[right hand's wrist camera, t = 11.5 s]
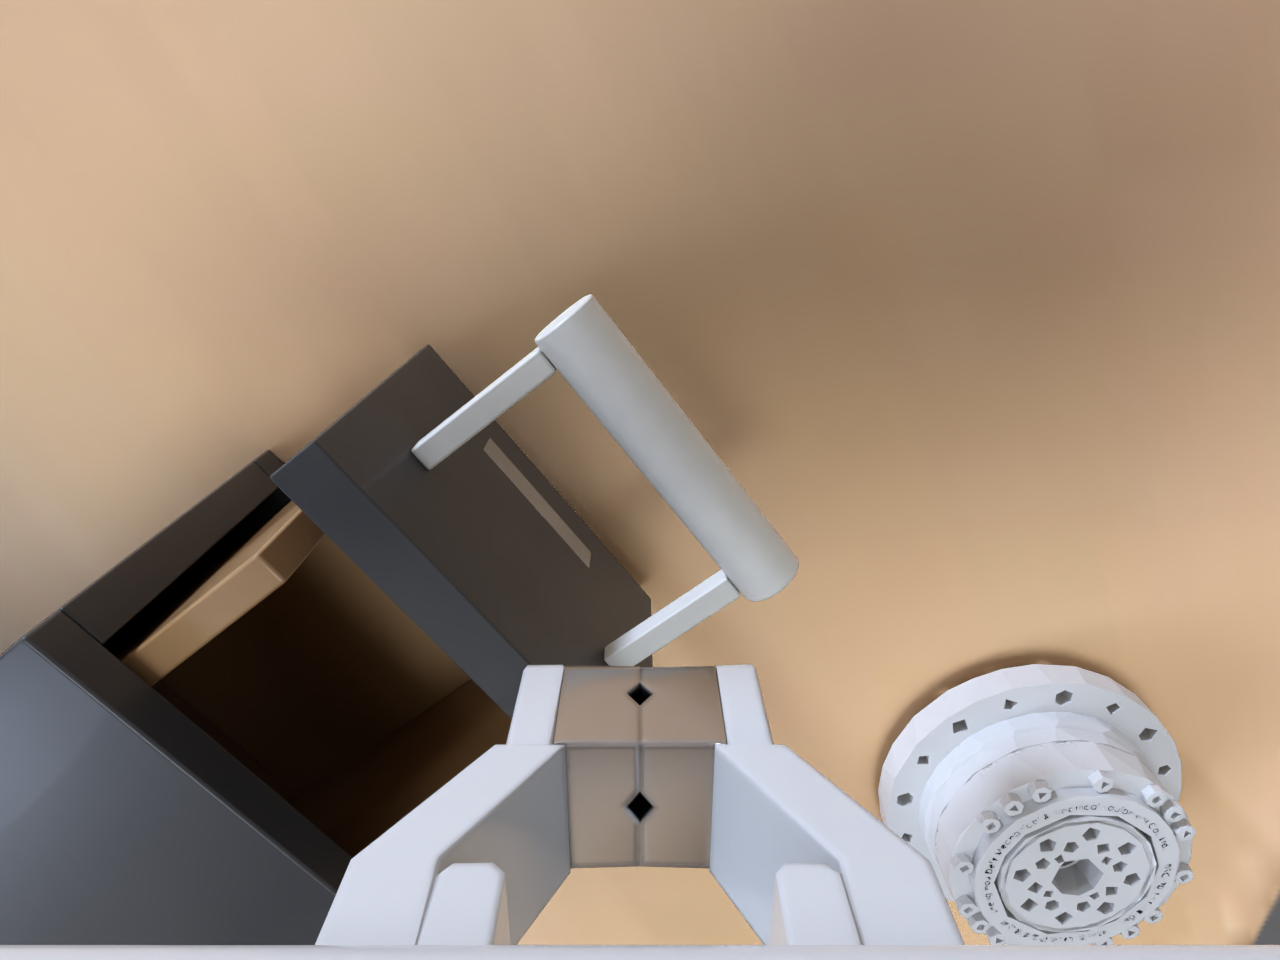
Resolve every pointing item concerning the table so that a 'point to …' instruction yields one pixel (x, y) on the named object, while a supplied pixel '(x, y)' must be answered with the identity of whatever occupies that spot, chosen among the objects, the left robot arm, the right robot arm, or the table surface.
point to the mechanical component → (1042, 805)
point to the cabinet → (145, 775)
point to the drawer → (437, 582)
